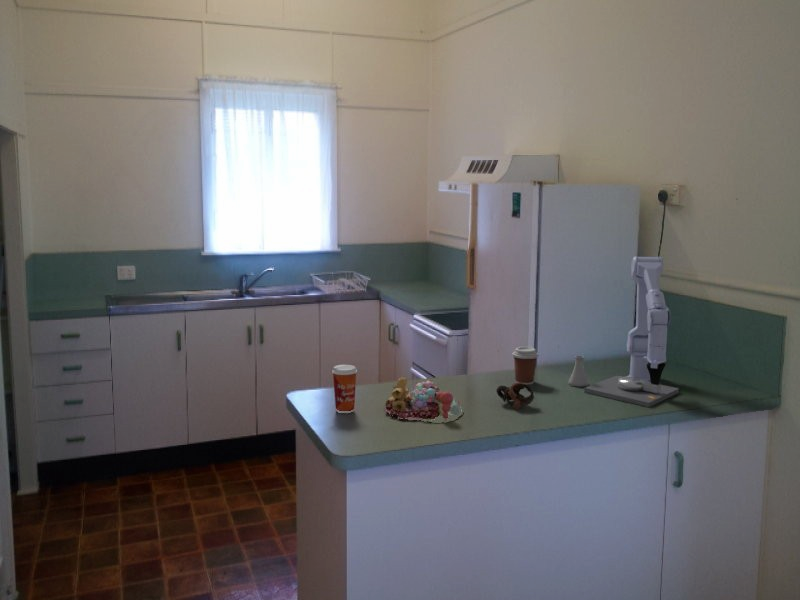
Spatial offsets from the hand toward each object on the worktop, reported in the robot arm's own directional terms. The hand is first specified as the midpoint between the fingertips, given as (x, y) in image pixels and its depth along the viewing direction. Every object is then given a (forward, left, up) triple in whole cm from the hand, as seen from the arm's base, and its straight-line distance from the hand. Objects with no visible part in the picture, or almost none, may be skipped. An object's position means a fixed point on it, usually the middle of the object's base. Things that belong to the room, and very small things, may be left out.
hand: (655, 385), depth 251 cm
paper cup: (+82, -62, -4) cm, 103 cm away
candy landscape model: (+64, -45, -5) cm, 78 cm away
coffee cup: (+16, -41, -4) cm, 44 cm away
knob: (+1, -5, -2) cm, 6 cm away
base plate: (+1, -8, -4) cm, 9 cm away
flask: (+5, -26, -4) cm, 26 cm away
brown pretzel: (+40, -28, -4) cm, 49 cm away
